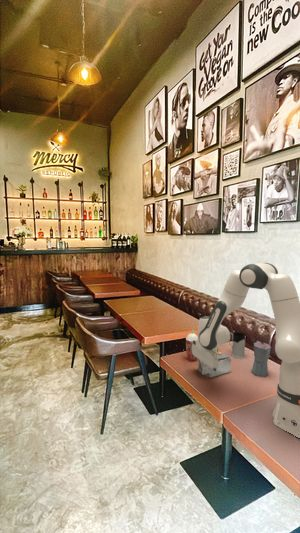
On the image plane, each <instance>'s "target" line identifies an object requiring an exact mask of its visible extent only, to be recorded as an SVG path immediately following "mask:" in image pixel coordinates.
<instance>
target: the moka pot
mask: <svg viewBox="0 0 300 533" xmlns="http://www.w3.org/2000/svg"><path fill="white" fill-rule="evenodd" d="M271 350H272V346H271V344H268V343H266V342H265V340H261V341H259V340H257V339H255V340H254V341H253V357H254V359H253V363H252V364H253V365H252V369H251V373H252V374H253V375H255V376H256V377H260V378H264V377H265V378H266V377H267V376H268V375H269V369H268V361H269V358H270V354H271Z"/></svg>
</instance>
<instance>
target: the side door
mask: <svg viewBox="0 0 300 533" xmlns="http://www.w3.org/2000/svg"><path fill="white" fill-rule="evenodd" d="M231 362H232V358H231V357H230V358H227V359H224V360H220V361H218V367H217V368H214V369H212V368H211V367H209V366H208V365H206V366H203V371H202V373H201V374H202V376H205V375H204V374H208V373H209V376H208V378H209V379H210V378H215V377H217V376H221V375H224V374H226V373H230V372H231V366H232V365H231V364H232V363H231Z"/></svg>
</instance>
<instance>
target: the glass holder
mask: <svg viewBox="0 0 300 533" xmlns="http://www.w3.org/2000/svg"><path fill="white" fill-rule="evenodd" d="M230 335H231V337H232V343H231V340H229V342H228V343H229V345H230V347H231V349H232V351H231V354H230V355H231V357H233V359H240V360H241V359H243V360H244V359H245V358H246V356H245V352H246V351H245V349H246V347H245V346H246V334H245V333H243V332H236V331H235V332H233V333H232V332H230Z"/></svg>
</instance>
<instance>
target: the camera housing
mask: <svg viewBox="0 0 300 533" xmlns="http://www.w3.org/2000/svg"><path fill="white" fill-rule="evenodd" d="M216 353H217V355H218V361H220V360H224V359H227V358H231V357H230V356H229V355H227V354H226V353H224V352H222V351H218V352H216ZM197 365H198V366H197V367H198V368H197V371H199V372H200V373H201V374H202V371H203V369H202V368H201V362H200V359H198V364H197ZM203 376H205V377H209V373H208V374H204V375H203Z"/></svg>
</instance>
